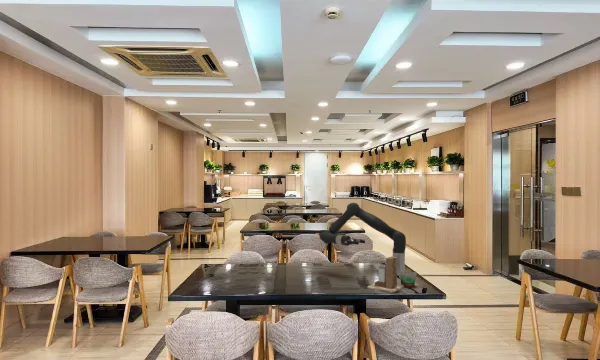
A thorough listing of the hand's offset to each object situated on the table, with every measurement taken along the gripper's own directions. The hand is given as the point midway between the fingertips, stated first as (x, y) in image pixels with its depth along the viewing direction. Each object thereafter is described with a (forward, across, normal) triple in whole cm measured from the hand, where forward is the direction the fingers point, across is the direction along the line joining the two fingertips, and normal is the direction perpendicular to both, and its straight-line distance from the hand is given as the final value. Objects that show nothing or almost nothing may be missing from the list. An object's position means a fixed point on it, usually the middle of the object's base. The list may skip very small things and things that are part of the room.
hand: (361, 242), depth 273 cm
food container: (+32, +10, +28) cm, 44 cm away
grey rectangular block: (+19, -3, +27) cm, 33 cm away
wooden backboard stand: (+21, -3, +28) cm, 35 cm away
